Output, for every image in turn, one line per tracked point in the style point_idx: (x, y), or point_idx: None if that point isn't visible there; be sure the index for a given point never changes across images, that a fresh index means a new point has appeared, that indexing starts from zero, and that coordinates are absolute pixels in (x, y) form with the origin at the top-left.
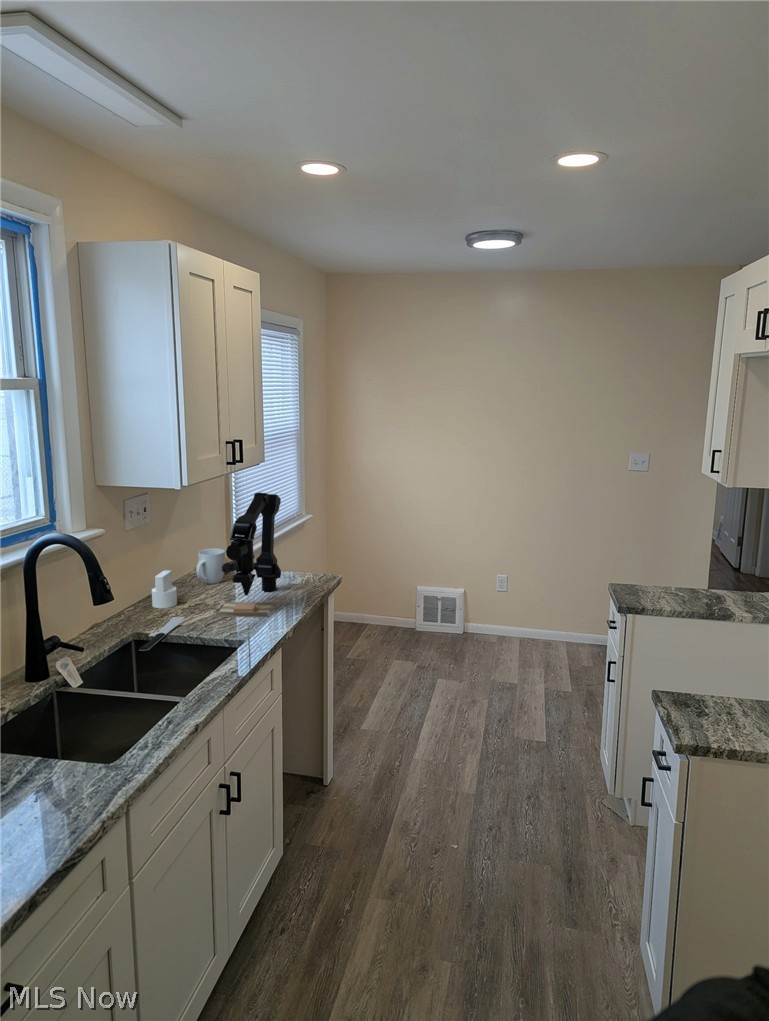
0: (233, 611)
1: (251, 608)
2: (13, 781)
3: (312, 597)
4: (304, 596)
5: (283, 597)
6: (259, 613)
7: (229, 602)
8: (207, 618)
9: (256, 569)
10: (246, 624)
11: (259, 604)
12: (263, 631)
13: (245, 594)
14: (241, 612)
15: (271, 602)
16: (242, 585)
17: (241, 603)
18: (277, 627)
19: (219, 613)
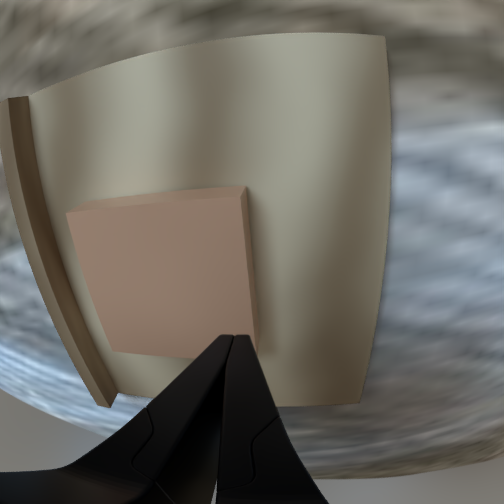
0: (119, 185)
1: (114, 342)
2: None
3: (426, 465)
4: (449, 447)
5: (471, 395)
6: (82, 375)
7: (383, 74)
8: (37, 36)
9: None
10: (23, 298)
11: (322, 345)
12: (10, 360)
13: (215, 346)
14: (41, 284)
15: (360, 395)
16: (118, 438)
17: (217, 246)
18: (58, 401)
19: (2, 128)
